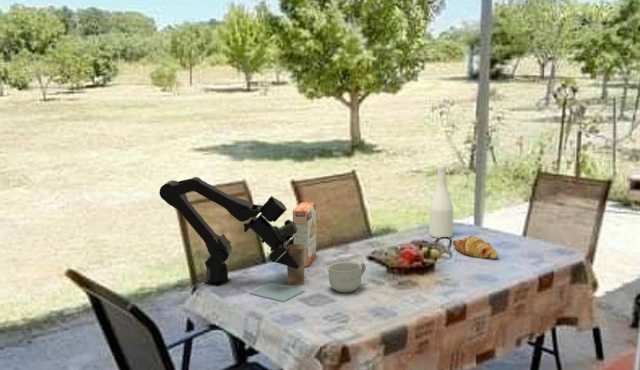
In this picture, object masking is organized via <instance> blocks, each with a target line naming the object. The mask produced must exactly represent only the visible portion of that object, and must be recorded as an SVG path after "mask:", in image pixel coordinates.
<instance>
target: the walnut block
mask: <svg viewBox="0 0 640 370" xmlns="http://www.w3.org/2000/svg"><path fill="white" fill-rule="evenodd" d="M288 248H289V253H290V255H291V257H292V258H293V259H294V260H295V262H296V263H297V264H298V265H299V268H298V269H295V268H292V267H289V266H286V268H287V269H286V270H287V286H304V283H305V267H304V244H289V245H288ZM288 248H287V249H288Z"/></svg>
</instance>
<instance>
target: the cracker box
mask: <svg viewBox="0 0 640 370" xmlns="http://www.w3.org/2000/svg"><path fill="white" fill-rule="evenodd" d="M316 205H317V204H316V202H305V201H304V202H302V201H301V202H300V203H299V204H298V205H297V206H296V207H295V208H294V209H292V221H293V222H294V223H296V227H297V229H298V230H297V233H295V234H293V237H294V244H304V268H306V267H307V268H308V267H309V266H310V265H311V264H312V262H313V261H314V259H315V258H316V256H317V227H316V225H317V223H316V222H317V219H316V216H317V214H316V213H317V209H316ZM293 237H292V238H293Z"/></svg>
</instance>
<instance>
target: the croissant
mask: <svg viewBox="0 0 640 370" xmlns="http://www.w3.org/2000/svg"><path fill="white" fill-rule="evenodd" d="M452 245H453V247H454V248H455V249H456V250H457V251H458V252H459V253H461V254H463V255H466V256H469V257H473V258H474V257H475V258H481V259H487V258H488V259H491V260H493V259H497V258H498V257H499V254H498V252H497V250H496V249H495V248H494V247H493V246H492V245H491V243H488V242H485V241H484V240H483V239H482V238H481V237H480V238H479V237H478V236H474V235H470V236H468V237H464V238H463V239H457V240H452Z"/></svg>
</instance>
